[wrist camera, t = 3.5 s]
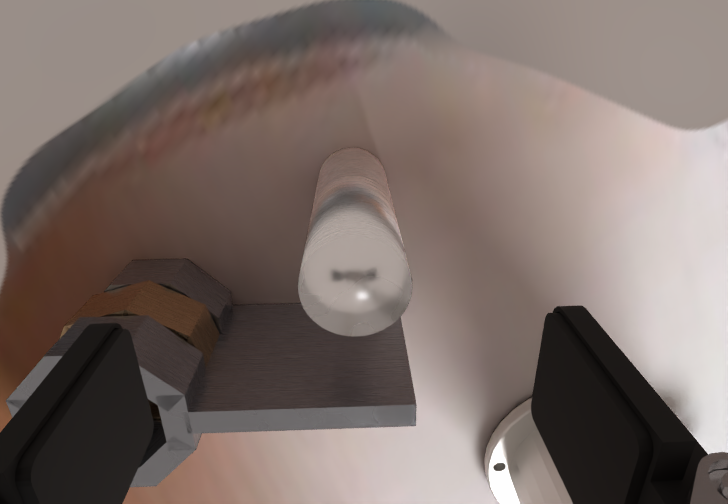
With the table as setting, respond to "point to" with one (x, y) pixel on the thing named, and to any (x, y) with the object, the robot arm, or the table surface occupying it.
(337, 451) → the table surface
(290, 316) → the fixed hinge leaf
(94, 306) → the bronze hinge leaf
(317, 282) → the hinge pin
